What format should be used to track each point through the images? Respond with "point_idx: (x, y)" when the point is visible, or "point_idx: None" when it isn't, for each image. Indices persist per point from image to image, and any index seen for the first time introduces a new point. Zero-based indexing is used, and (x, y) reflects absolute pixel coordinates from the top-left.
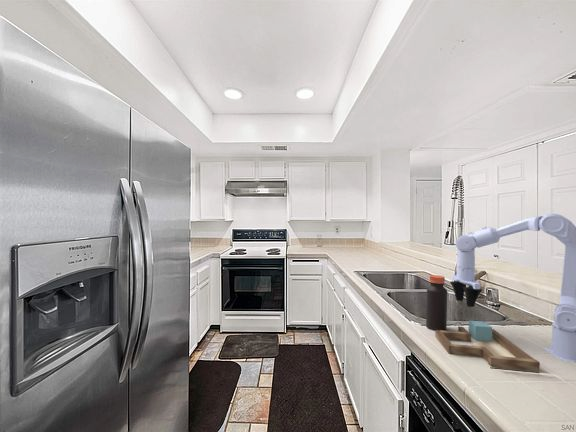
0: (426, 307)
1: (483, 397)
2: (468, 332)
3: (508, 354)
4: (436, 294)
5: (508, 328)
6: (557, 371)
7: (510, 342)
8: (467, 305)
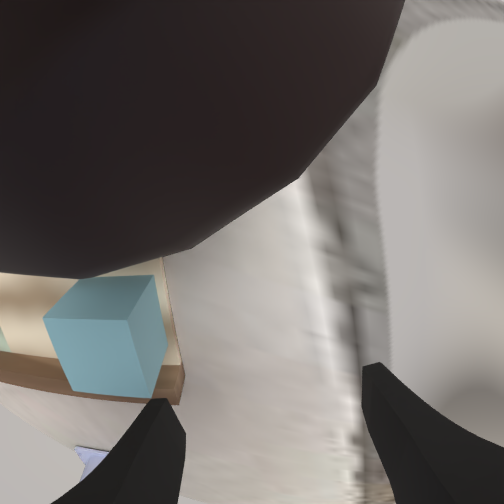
0: None
1: None
2: None
3: (18, 342)
4: None
5: (320, 446)
6: (13, 401)
7: (46, 387)
8: (155, 403)
